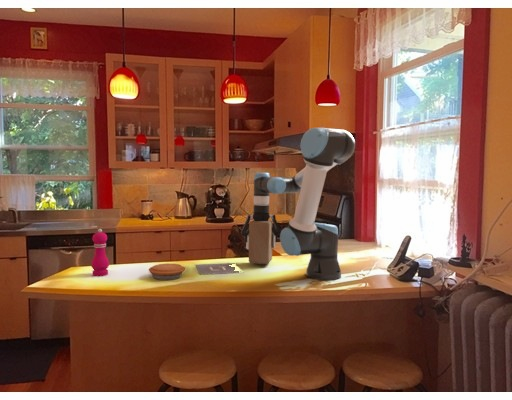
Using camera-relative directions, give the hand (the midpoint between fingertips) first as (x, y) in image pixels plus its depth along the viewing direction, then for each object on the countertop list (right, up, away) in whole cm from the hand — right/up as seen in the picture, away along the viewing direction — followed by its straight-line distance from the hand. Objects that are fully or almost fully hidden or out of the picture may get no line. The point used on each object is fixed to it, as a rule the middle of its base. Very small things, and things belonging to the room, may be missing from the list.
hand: (260, 248), depth 206 cm
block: (0, -7, +1) cm, 7 cm away
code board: (-20, -8, -8) cm, 23 cm away
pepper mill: (-70, -9, -23) cm, 74 cm away
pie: (-40, -10, -25) cm, 48 cm away
